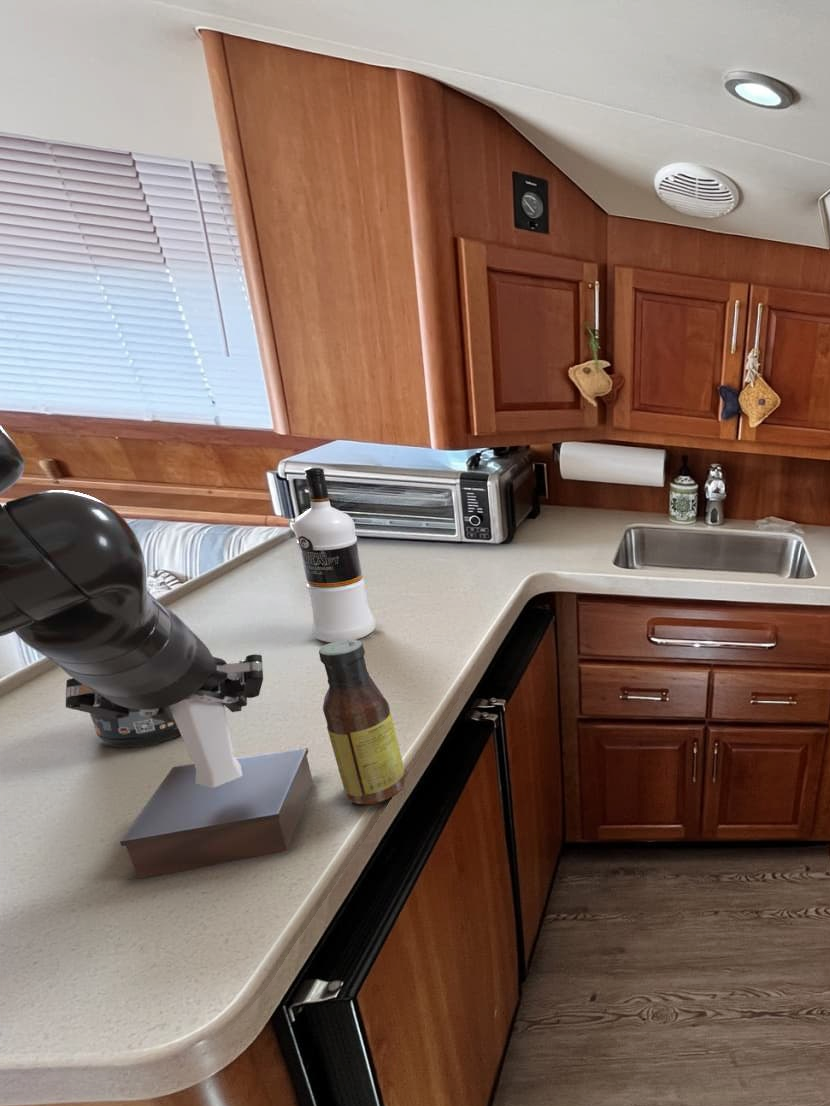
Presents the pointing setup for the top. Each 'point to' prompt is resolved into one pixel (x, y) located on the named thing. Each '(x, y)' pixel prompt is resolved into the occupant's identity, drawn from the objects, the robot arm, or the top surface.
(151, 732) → the supplement container
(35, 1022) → the top surface
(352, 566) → the vodka
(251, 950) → the top surface
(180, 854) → the box
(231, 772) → the white faceted vase
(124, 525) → the robot arm
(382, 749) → the sauce bottle
